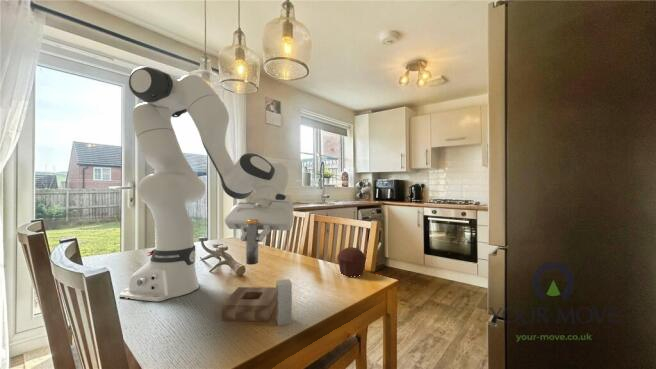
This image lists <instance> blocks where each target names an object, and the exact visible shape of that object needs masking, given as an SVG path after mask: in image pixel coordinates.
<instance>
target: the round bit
mask: <svg viewBox="0 0 656 369" xmlns="http://www.w3.org/2000/svg"><path fill="white" fill-rule="evenodd" d="M257 234H259V230H258V219H249V220H246V241H245V245H246V246H245V247H246V248H245V252H246V254H245V260H246V261H245V263H246V265H257V264H258V263H259V242H257V240H256V237H257Z"/></svg>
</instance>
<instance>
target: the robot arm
mask: <svg viewBox="0 0 656 369" xmlns="http://www.w3.org/2000/svg"><path fill="white" fill-rule="evenodd" d="M128 86H129V90H130V92H131V93H132V94H133V95H134V96H135V97H136V98H138V99H140V100H141V101H143V102H142V103H139V104H137V105H135V106H134V107H133V109H132V111H131V116H132V118H131V119H132V125H133V129H134V133H135V137H136V139H137V142H138V145H139V148H140V150H141V154H142V156H143V159H144V160H145V162H146V163H147V164H148V165H149V166H150V167H152V168H153V169H154V171H155V172H156V173H152V174H147V175H146V176H144V177H143V178H142V179H141V180H140V182H139V183H138V187H137V193H138V197H139V199H140V200H141V202H143V203H144V204H145V205H146V206H147V207H148V208H149V211H150V212H151V216H152V218H153V222H154V226H155V248H154V249H152V250H151V251H149V252H147V256H146V257H151V258H150V259H149V261H148V262H147V263H145V264H144V265H142V266H141V267H140V268H139V269H137V270H136V271H135V272H134V273H132V275H131V276H130V278H129V282H128V283H129V284H128V287H126V288H125V289H123V290H122V291H121V292H119V296H120V297H125V298H124V299H128V298H130V300H138V301H148V302H162V301H165V300H168V299H172V298H176V297H180V296H184V295H187V294H189V293H193V292H194V291H195V290H197V289H198V288H199V287H200V284H199V280H198V275H197V272H196V270H197V269H196V264H195V262H196V255H197V254H196V245H195V223H194V221H193V220H192V219H191V218H190V216H189V214H188V210H187V206H186V205H191V204H194V203H196V202H197V201H199V200H201V199H202V198H203V197H204V195H205V193H206V185H205V183H204V180H202V179H201V178H200V177H199V176H198V175H197V174H196V172H195V171H194V170H193V168H192V166H191V165H190V163H189V162H188V160H187V158H186V156H185V155H184V153H183V150H182V149H181V146H180V143H179V141H178V138H177V136H176V133H175V129H174V127H173V124H172V120H171V119H172V118H179V117H181V115H183V114H185V113H188V115H189V116H190V118H191V119H192V121H193V123H194V125H195V126H196V129H197V131H198V133H199V136H200V141H201V144H202V145H203V148H204V150H205V152H206V154H207V155H208V158H209V159H210V161H211V164H213V166H214V168H215V170H216V172H217V173H218V176H219V178H220V182H221V186H222V189H223V191H224V193H226V194H227V195H228V196H229V197H231V198H232V199H236V200H244V199H246V198H248V197H249V196H250V195H251V194H252V193H253V191H254V189H255V191H254V194H253V195H252V197H251V200H250V202H249V201H248V202H241V201H240V202H238V203H237V204H234V205H233V206H232V208H231V209H230V210H229V212H228V214H227V215H226V216H225V218H224V223H225V225H226V227H227V228H228V229H229V230H241V234H240V237H239V238H240V240H241V242H246V220H249V219H258V231H261V232H260V233H258V234H257V237H256V240H257V242H258V243H263V242H264V239H265V238H266V237H267V236H268V235H269V234H270V233H271V231H285V232H286V231H287V232H288V231H290V230H291V229H292V228H293V225H294V220H295V218H294V212H295V211H294V209H295V208H294V205H293V201H292V199H291V198H290V196H289V195H288V194H284V193H285V192H286V189H287V186H288V181H289V170H288V169H287V166H286V165H284V164H283V163H282V162H279V161H269V160H267V159H266V158H264V157H263V156H261V155H259V154H257V153H253V152H248V153H244V154H242V155H241V156H240V157H239V159H238V160H237V161H236V163H235V162H234V160H233V159H232V157H231V156H230V153H229V152H228V149H227V148H226V136H227V130H228V126H229V123H230V122H229V121H230V116H229V115H230V114H229V112H228V109H227V106H226V105H225V104H224V102H223V101H222V99H221V98H220V96H219V95H218V94H217V92H216V91H215V90H214V88H212V87H211V85H210V84H209V83H208V82H207V81H206V80H205V79H203V78H202V77H201V76H200V75H197V74H192V73H191V74H186V75H184V76H182V77H181V78H179V79H177V78H176V77H175V76H173V75H170V74H168V73H167V72H164V71H162V70H161V69H158V68H155V67H151V66H139V67H136V68H134V69H133V70H132V72H131V73H130V75H129V78H128ZM120 297H119V298H120Z"/></svg>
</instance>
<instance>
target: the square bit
mask: <svg viewBox="0 0 656 369" xmlns="http://www.w3.org/2000/svg"><path fill="white" fill-rule="evenodd" d="M275 287H276V306H275V316H276V317H275V320H276V323H277V326H278V327H279V326H285V325H291V324H292V323H293V322H292V321H293V319H292V318H293V312H292V310H293V309H292V307H293V306H292V305H293V303H292V302H293V301H292V300H293V299H292V298H293V297H292V295H293V290H292V289H293V285H292V281H291V280H290V278H288V279H287V278H285V279H280V280H279V279H278V280H276V281H275Z"/></svg>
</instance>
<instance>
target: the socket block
mask: <svg viewBox="0 0 656 369" xmlns="http://www.w3.org/2000/svg"><path fill="white" fill-rule="evenodd" d="M275 309H276V286H275V287H263V286H261V287H258V286H257V287H255V286H254V287H253V286H252V287H248V286H247V287H246V286H245V287H244V286H243V287H241V286H240V287H237V288H236V289H235V290H234V291H233V292H232V293H231V295H229V297H228V298H227V299H226V300H225V301H224V302H223V303H222V304H221V322H222V321H223V322H229V321H230V322H233V321H234V322H269V320H270V319H271V316H272V314H273V312H274V310H275Z"/></svg>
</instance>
